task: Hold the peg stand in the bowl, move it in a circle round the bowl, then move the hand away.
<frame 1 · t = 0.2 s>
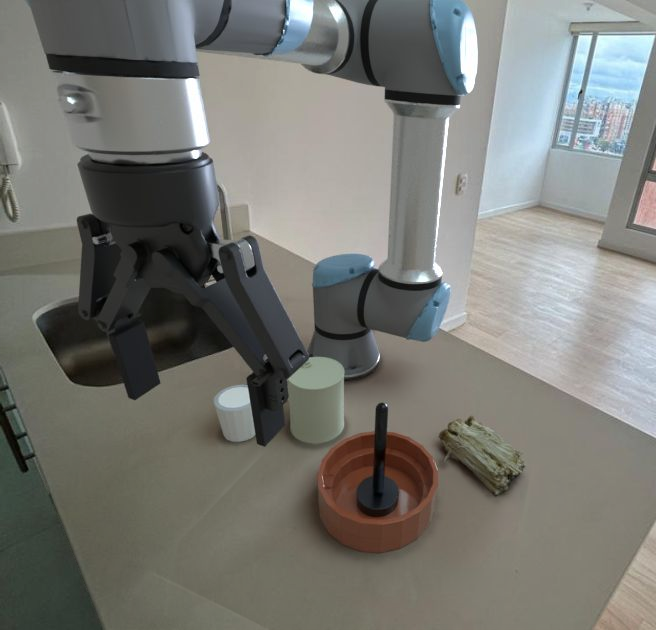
hand: (205, 411, 38), 27 cm above the countertop, tool pointing down, fingers open, 13 cm apart
shot glass: (241, 431, 75), on the countertop
bowl: (377, 502, 64), on the countertop
peg stand: (377, 499, 64), point 1 cm above the countertop, touching bowl
can: (317, 427, 77), on the countertop
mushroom: (480, 462, 73), on the countertop
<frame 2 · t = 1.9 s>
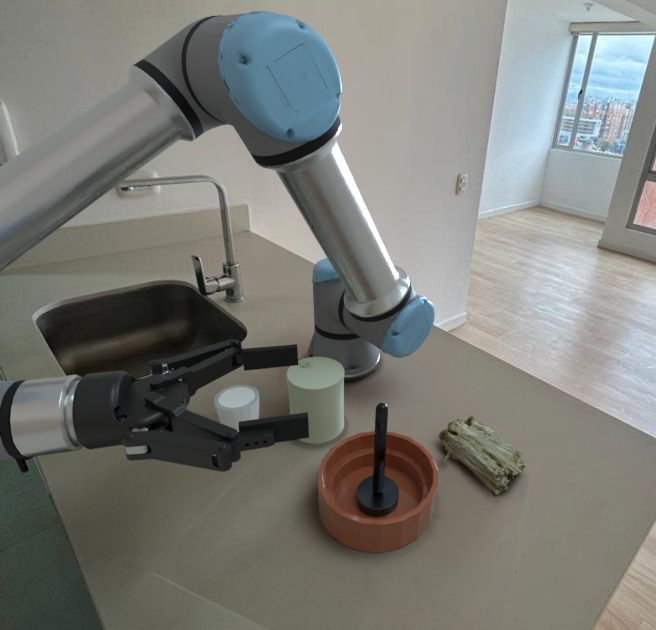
hand: (302, 385, 51), 22 cm above the countertop, tool horizontal, fingers open, 13 cm apart
nothing on the countertop moved.
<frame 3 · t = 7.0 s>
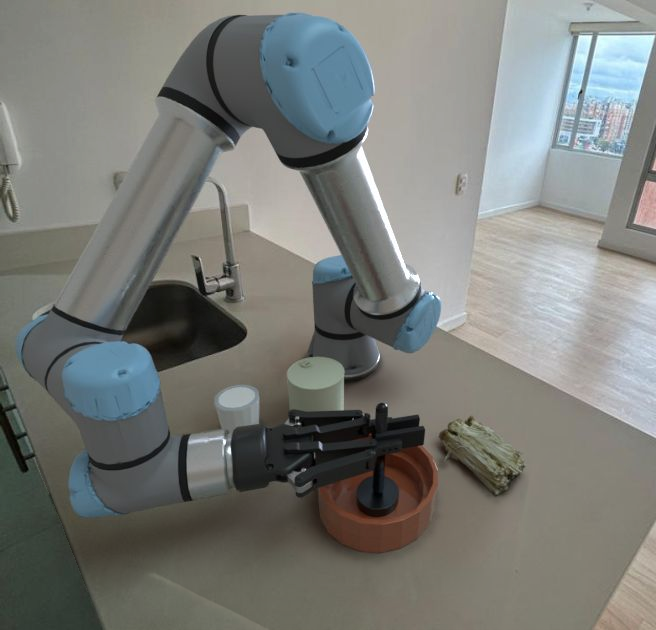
hand: (420, 429, 60), 12 cm above the countertop, tool horizontal, fingers closed on peg stand, 2 cm apart
peg stand: (377, 499, 64), point 1 cm above the countertop, touching bowl, gripper
everything else where it was.
when the fingers open (12 cm above the countertop, at t = 12.0 s): peg stand stays where it is, resting on bowl.
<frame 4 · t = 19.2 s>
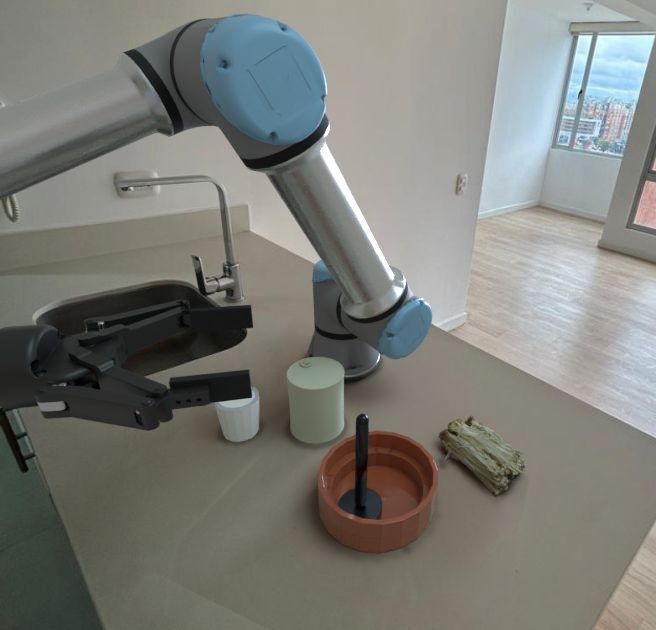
hand: (252, 345, 47), 28 cm above the countertop, tool horizontal, fingers open, 13 cm apart
peg stand: (360, 512, 62), point 1 cm above the countertop, touching bowl
everything else where it was.
at the end: peg stand inside the target area in the bowl (3.3 cm from its centre), point 0.6 cm above the bowl's base; peg stand tilted 0°; the gripper is holding nothing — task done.
